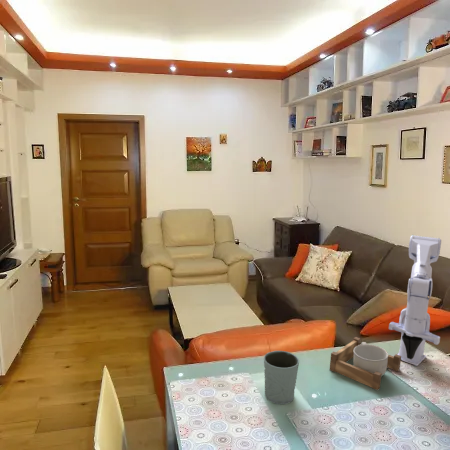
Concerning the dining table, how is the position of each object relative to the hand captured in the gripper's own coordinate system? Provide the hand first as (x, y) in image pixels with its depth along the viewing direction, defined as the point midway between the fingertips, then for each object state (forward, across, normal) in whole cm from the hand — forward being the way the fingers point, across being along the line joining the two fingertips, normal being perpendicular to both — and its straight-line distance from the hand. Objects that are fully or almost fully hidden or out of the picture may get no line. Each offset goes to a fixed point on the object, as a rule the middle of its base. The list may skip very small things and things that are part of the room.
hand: (410, 357), depth 133 cm
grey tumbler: (+10, -25, -34) cm, 43 cm away
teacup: (+10, -13, 0) cm, 16 cm away
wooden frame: (+10, -13, 0) cm, 16 cm away
